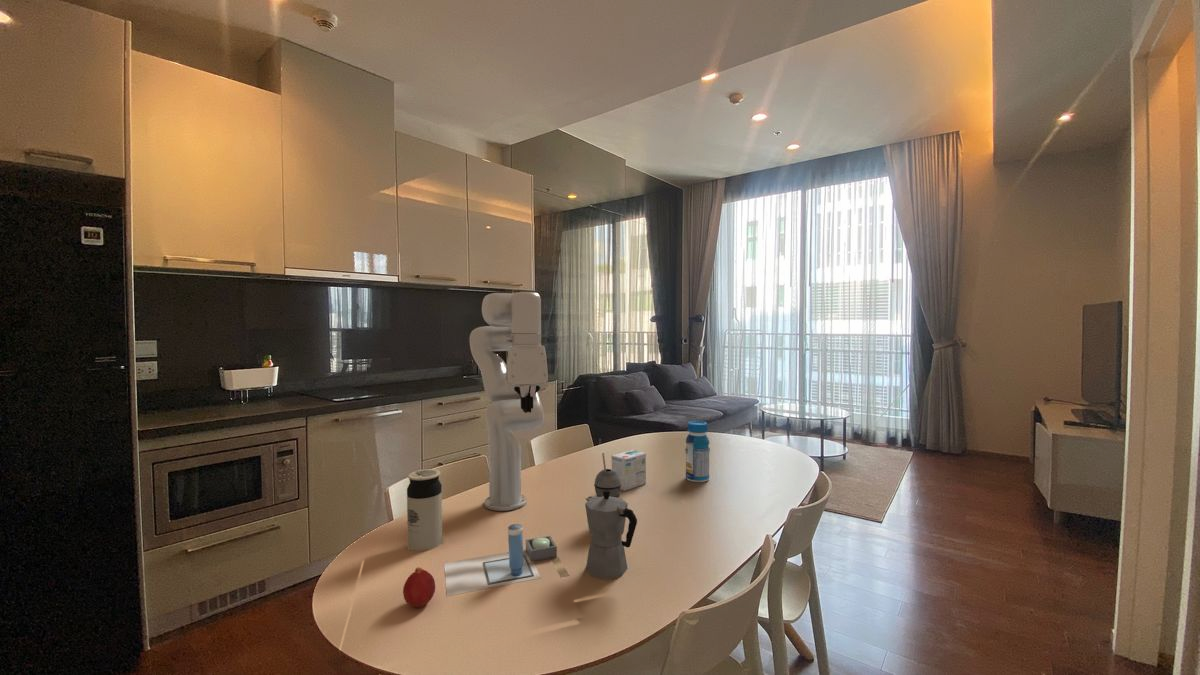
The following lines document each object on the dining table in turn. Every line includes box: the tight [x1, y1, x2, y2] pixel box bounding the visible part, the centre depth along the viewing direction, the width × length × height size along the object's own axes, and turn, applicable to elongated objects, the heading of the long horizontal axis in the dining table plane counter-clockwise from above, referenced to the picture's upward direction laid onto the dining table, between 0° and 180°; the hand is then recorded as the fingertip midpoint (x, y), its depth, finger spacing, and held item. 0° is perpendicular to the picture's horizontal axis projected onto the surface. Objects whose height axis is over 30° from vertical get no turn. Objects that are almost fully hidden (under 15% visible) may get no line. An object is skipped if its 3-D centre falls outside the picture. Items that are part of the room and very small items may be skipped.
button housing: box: [525, 535, 558, 563], centre depth 111 cm, size 6×6×3 cm
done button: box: [532, 537, 550, 549], centre depth 111 cm, size 4×4×2 cm
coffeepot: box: [584, 490, 638, 580], centre depth 103 cm, size 15×9×18 cm, turn 43°
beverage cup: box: [593, 452, 621, 498], centre depth 127 cm, size 7×7×20 cm
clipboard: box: [443, 548, 570, 597], centre depth 104 cm, size 16×26×1 cm, turn 110°
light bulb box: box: [611, 449, 647, 492], centre depth 161 cm, size 11×7×11 cm, turn 132°
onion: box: [402, 566, 436, 609], centre depth 91 cm, size 6×6×8 cm
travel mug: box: [406, 468, 443, 552], centre depth 116 cm, size 8×8×18 cm
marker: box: [507, 523, 524, 576], centre depth 102 cm, size 3×3×10 cm
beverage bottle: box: [684, 420, 711, 483], centre depth 166 cm, size 8×8×20 cm
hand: (527, 411), depth 122 cm, fingers closed
